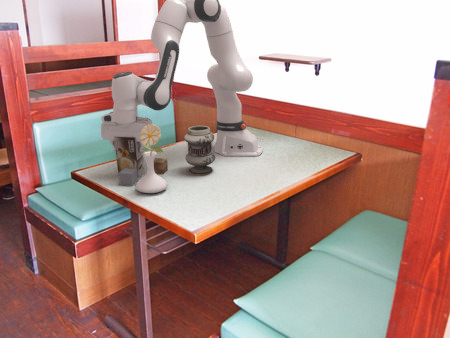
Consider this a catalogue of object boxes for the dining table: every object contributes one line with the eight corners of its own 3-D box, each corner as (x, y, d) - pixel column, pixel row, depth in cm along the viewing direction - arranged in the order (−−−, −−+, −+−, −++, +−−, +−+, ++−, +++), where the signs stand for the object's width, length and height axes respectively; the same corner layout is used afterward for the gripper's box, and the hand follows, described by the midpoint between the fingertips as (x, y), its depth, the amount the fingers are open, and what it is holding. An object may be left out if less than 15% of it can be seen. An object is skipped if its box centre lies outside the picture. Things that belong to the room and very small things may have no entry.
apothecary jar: (193, 164, 176) (191, 122, 170) (219, 167, 172) (219, 125, 166) (180, 174, 165) (178, 130, 159) (208, 177, 161) (207, 132, 155)
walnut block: (167, 170, 170) (167, 158, 168) (163, 174, 165) (162, 162, 164) (156, 169, 171) (155, 157, 169) (151, 173, 166) (150, 161, 164)
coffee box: (145, 172, 167) (142, 133, 162) (138, 178, 162) (135, 138, 156) (124, 170, 169) (121, 132, 164) (117, 176, 164) (113, 136, 158)
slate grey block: (137, 181, 158) (136, 169, 157) (132, 186, 154) (131, 173, 152) (125, 180, 159) (124, 168, 158) (120, 185, 155) (118, 172, 153)
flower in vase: (129, 189, 151) (123, 122, 142) (155, 181, 158) (151, 116, 149) (150, 200, 142) (145, 129, 133) (177, 191, 149) (173, 122, 141)
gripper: (155, 116, 158) (156, 150, 162) (105, 113, 162) (108, 147, 166) (148, 119, 152) (150, 155, 157) (97, 116, 156) (100, 152, 161)
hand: (128, 151), depth 162 cm, fingers closed on coffee box, 8 cm apart
